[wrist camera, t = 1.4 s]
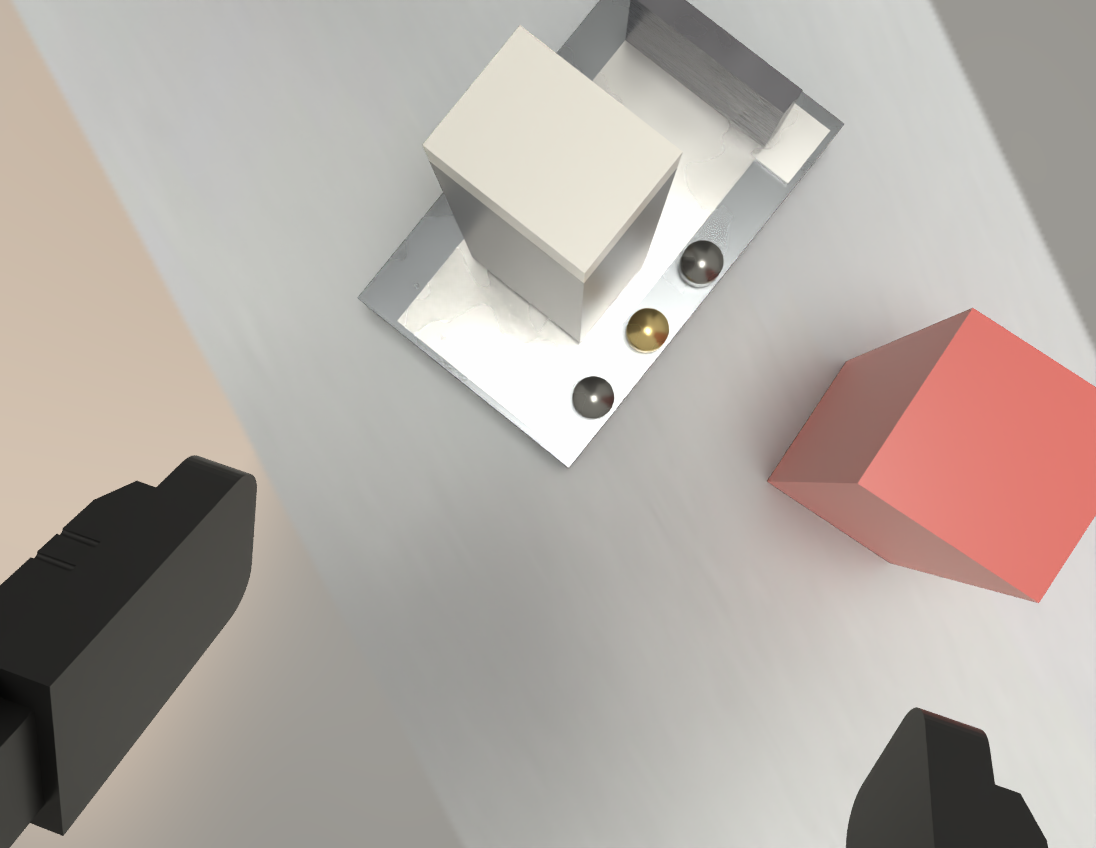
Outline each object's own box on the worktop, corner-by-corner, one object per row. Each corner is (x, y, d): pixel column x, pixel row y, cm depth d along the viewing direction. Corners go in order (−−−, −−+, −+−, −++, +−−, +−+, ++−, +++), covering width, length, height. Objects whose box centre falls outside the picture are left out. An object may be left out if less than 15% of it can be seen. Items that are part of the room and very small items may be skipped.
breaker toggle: (579, 342, 29) (584, 273, 19) (472, 257, 30) (422, 145, 20) (644, 262, 29) (683, 151, 19) (537, 177, 30) (520, 25, 20)
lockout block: (766, 481, 32) (857, 483, 22) (846, 361, 32) (972, 308, 22) (889, 562, 31) (1038, 603, 21) (969, 441, 31) (1154, 424, 21)
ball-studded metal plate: (568, 468, 32) (568, 466, 27) (370, 309, 32) (334, 277, 27) (827, 145, 32) (874, 84, 27) (628, -8, 32) (638, -96, 27)
